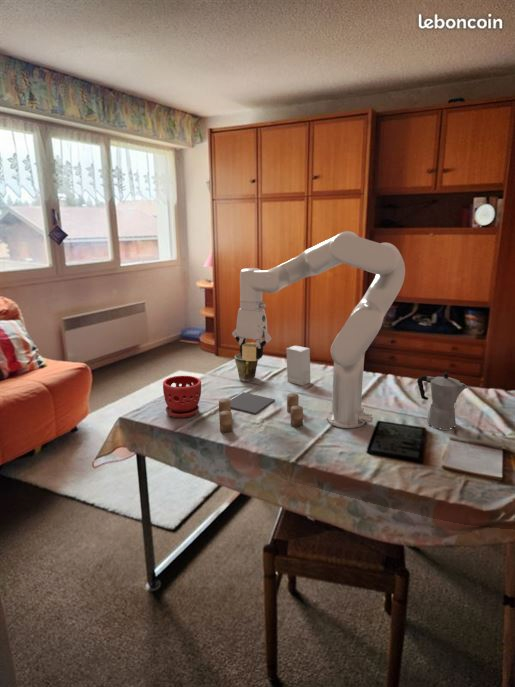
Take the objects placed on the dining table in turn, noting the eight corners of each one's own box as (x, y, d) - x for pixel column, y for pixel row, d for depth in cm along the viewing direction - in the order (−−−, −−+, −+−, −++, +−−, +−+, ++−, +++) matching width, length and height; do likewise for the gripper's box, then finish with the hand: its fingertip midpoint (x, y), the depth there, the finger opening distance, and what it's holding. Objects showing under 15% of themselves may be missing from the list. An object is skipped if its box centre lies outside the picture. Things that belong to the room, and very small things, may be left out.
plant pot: (187, 423, 153) (185, 390, 150) (157, 415, 159) (154, 383, 156) (209, 409, 164) (208, 377, 161) (180, 402, 170) (178, 372, 167)
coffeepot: (465, 423, 151) (471, 372, 146) (458, 434, 143) (465, 381, 138) (418, 412, 159) (422, 363, 154) (409, 422, 152) (414, 371, 147)
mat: (274, 400, 171) (274, 399, 171) (255, 414, 159) (255, 412, 159) (243, 393, 178) (243, 392, 178) (222, 406, 166) (222, 404, 166)
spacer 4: (304, 423, 152) (305, 407, 150) (299, 428, 149) (299, 411, 147) (293, 421, 154) (294, 404, 152) (288, 425, 151) (288, 408, 149)
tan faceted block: (249, 355, 162) (249, 341, 161) (262, 357, 160) (262, 343, 158) (239, 359, 157) (239, 345, 156) (253, 362, 154) (253, 348, 153)
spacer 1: (233, 416, 158) (232, 400, 157) (226, 420, 155) (226, 404, 153) (223, 413, 160) (223, 397, 158) (216, 418, 157) (216, 401, 155)
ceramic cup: (234, 375, 198) (233, 353, 196) (257, 374, 200) (257, 352, 197) (236, 385, 186) (235, 362, 183) (260, 384, 187) (260, 361, 184)
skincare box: (310, 382, 189) (311, 348, 184) (301, 386, 184) (301, 351, 180) (295, 377, 194) (295, 344, 190) (285, 381, 190) (286, 347, 186)
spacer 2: (234, 429, 149) (234, 412, 147) (227, 434, 145) (227, 416, 144) (224, 426, 151) (224, 409, 149) (217, 431, 147) (216, 414, 146)
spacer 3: (300, 410, 162) (300, 394, 161) (295, 414, 159) (295, 398, 157) (290, 408, 164) (290, 392, 163) (285, 412, 161) (285, 396, 159)
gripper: (279, 306, 152) (278, 357, 157) (235, 301, 160) (235, 350, 165) (268, 310, 146) (268, 363, 151) (223, 304, 154) (224, 356, 159)
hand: (251, 356), depth 158 cm, fingers closed on tan faceted block, 5 cm apart
